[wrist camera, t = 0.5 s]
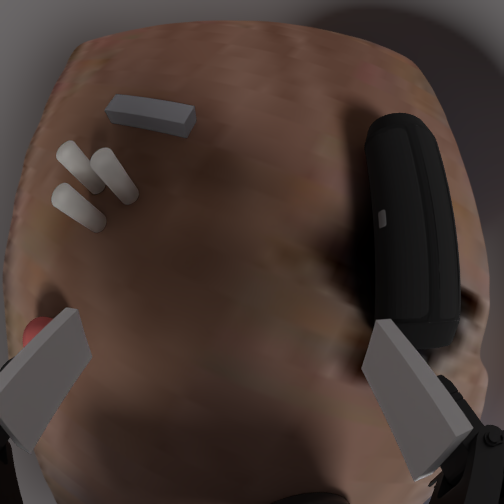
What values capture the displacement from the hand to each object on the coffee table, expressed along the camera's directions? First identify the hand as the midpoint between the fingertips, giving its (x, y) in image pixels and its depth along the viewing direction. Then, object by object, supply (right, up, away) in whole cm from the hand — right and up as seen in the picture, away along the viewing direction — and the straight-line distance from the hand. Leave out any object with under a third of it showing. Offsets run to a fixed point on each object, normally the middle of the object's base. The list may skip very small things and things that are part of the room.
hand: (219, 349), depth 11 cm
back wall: (-12, +21, +20) cm, 32 cm away
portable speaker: (+19, +6, +20) cm, 28 cm away
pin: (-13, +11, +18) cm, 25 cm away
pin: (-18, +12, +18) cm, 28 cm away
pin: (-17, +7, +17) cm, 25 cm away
